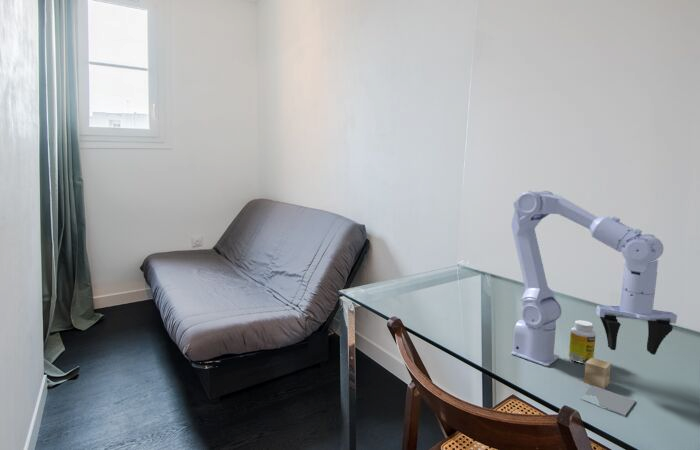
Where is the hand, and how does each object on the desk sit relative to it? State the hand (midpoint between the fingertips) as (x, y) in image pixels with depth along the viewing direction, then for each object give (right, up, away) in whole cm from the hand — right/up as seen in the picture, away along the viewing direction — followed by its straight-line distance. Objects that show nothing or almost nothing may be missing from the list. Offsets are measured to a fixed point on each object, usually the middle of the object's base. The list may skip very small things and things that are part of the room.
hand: (631, 350), depth 85 cm
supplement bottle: (-2, -8, +16) cm, 18 cm away
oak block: (-5, -9, +4) cm, 11 cm away
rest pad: (-7, -10, -3) cm, 12 cm away
